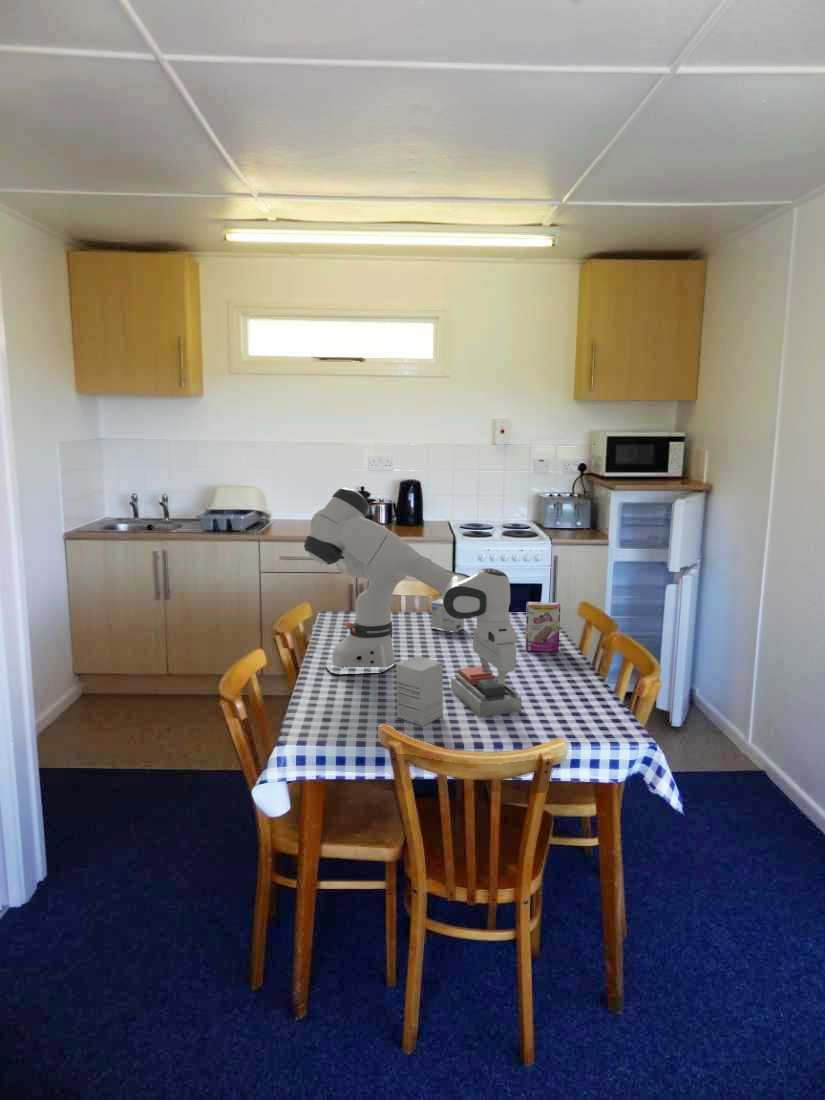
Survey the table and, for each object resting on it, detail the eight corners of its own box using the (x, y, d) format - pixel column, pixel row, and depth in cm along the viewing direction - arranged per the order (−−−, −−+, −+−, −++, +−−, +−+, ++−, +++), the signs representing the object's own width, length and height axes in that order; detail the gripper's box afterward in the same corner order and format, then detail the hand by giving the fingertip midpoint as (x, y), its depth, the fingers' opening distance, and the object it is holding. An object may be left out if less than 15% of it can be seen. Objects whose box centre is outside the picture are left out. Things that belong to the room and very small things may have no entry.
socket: (479, 716, 199) (480, 698, 198) (451, 690, 219) (451, 673, 218) (521, 711, 203) (521, 692, 202) (489, 685, 223) (489, 668, 222)
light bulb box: (464, 629, 283) (464, 601, 281) (455, 633, 277) (455, 605, 275) (439, 625, 289) (439, 598, 287) (430, 629, 283) (430, 601, 281)
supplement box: (417, 708, 206) (417, 655, 203) (443, 716, 200) (443, 661, 198) (395, 718, 199) (395, 663, 196) (422, 727, 193) (422, 670, 191)
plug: (484, 707, 203) (484, 686, 202) (476, 701, 208) (476, 680, 207) (504, 704, 205) (504, 683, 204) (496, 698, 210) (496, 677, 209)
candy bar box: (525, 652, 255) (526, 604, 252) (525, 648, 260) (526, 601, 257) (559, 653, 254) (560, 605, 251) (558, 648, 258) (559, 602, 256)
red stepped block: (470, 685, 211) (470, 676, 210) (458, 675, 219) (458, 666, 219) (495, 682, 213) (495, 673, 212) (482, 672, 221) (482, 664, 221)
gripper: (467, 619, 212) (467, 667, 215) (498, 639, 193) (497, 691, 196) (488, 617, 214) (487, 664, 217) (520, 637, 195) (519, 688, 197)
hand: (492, 677), depth 206 cm, fingers open, 8 cm apart
